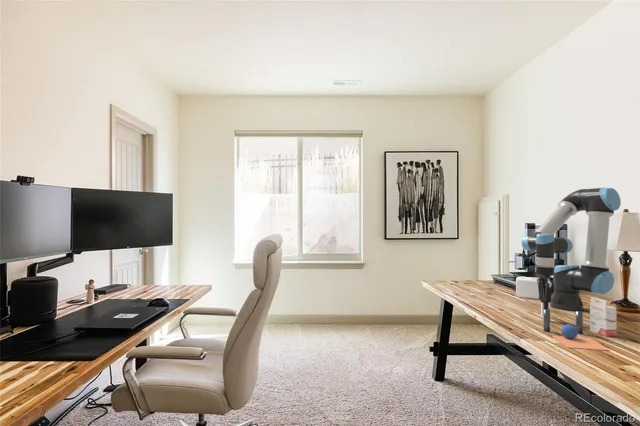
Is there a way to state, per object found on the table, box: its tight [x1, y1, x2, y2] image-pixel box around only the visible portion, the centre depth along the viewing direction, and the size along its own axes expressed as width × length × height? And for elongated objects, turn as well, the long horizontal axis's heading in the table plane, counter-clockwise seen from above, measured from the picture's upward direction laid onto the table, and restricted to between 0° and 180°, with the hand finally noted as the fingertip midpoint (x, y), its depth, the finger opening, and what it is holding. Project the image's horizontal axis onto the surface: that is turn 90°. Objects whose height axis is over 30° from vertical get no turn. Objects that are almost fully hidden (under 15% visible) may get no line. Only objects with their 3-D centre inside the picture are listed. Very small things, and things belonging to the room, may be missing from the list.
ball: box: [560, 324, 579, 339], centre depth 148 cm, size 6×6×6 cm
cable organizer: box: [515, 276, 540, 300], centre depth 228 cm, size 15×11×12 cm
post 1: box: [543, 309, 551, 333], centre depth 158 cm, size 2×2×9 cm
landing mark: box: [551, 335, 611, 352], centre depth 143 cm, size 14×14×1 cm
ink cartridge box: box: [589, 296, 618, 337], centre depth 156 cm, size 9×5×15 cm, turn 5°
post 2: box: [575, 310, 584, 335], centre depth 156 cm, size 2×2×9 cm
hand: (544, 316), depth 175 cm, fingers closed
